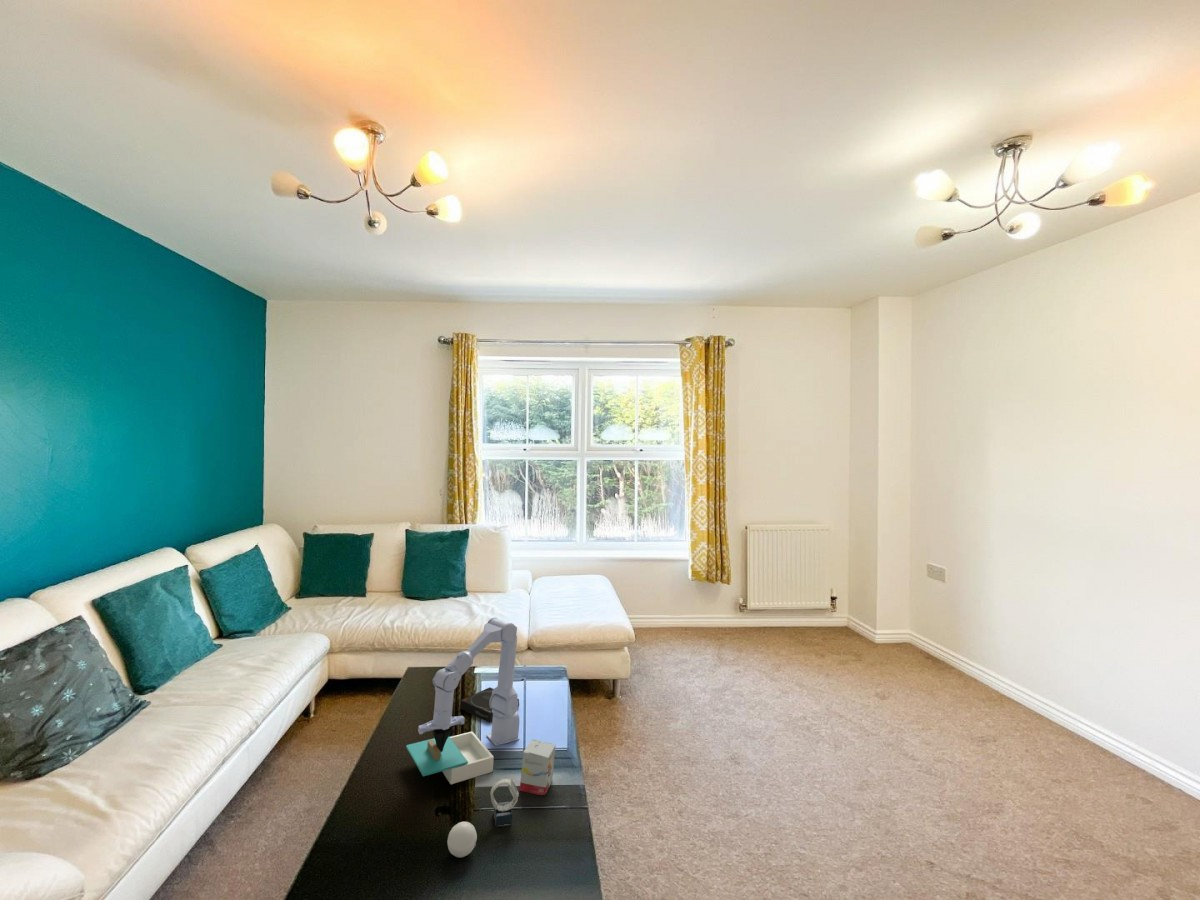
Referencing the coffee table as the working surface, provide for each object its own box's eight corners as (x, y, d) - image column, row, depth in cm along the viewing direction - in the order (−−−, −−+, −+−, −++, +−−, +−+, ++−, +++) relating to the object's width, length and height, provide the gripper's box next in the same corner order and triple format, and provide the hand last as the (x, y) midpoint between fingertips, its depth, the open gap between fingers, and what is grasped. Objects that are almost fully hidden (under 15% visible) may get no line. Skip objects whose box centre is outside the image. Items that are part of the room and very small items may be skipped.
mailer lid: (447, 736, 176) (448, 727, 176) (467, 763, 162) (468, 753, 162) (406, 747, 168) (406, 737, 168) (423, 776, 153) (424, 766, 154)
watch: (518, 824, 144) (521, 784, 144) (489, 828, 141) (492, 788, 141) (515, 811, 149) (518, 772, 149) (487, 815, 146) (490, 775, 147)
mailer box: (471, 744, 181) (472, 731, 182) (492, 771, 167) (493, 756, 167) (431, 755, 173) (433, 741, 173) (450, 784, 159) (452, 769, 159)
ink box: (545, 796, 157) (548, 757, 157) (518, 790, 158) (522, 751, 159) (553, 780, 165) (556, 742, 165) (528, 774, 167) (531, 738, 167)
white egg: (475, 863, 129) (478, 833, 129) (444, 866, 127) (447, 835, 127) (476, 835, 138) (479, 807, 139) (448, 837, 137) (450, 808, 137)
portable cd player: (519, 708, 212) (519, 698, 212) (489, 723, 197) (490, 713, 198) (490, 696, 221) (490, 686, 221) (459, 710, 206) (460, 700, 206)
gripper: (424, 718, 158) (420, 763, 158) (469, 708, 167) (465, 750, 166) (417, 708, 164) (413, 751, 164) (461, 699, 173) (457, 740, 172)
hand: (439, 750), depth 165 cm, fingers closed
